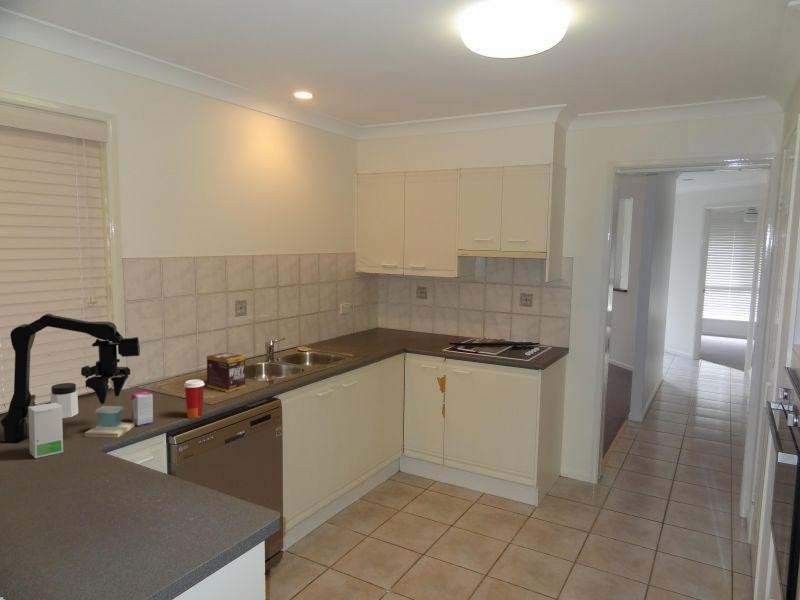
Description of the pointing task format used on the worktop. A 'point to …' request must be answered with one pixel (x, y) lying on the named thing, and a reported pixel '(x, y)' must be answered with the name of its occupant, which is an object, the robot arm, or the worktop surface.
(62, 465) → the worktop surface
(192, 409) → the paper cup
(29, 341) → the robot arm
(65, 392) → the jar
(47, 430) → the skincare box
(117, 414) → the housing
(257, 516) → the worktop surface
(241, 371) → the supplement box
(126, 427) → the birch stand
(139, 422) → the supplement box
